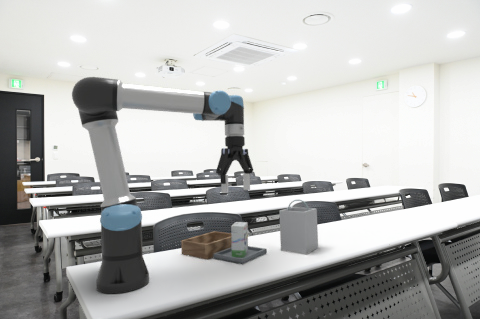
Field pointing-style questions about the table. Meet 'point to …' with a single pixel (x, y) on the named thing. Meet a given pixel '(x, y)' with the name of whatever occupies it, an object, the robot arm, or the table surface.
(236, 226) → the ink box
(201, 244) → the crate
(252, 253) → the tray
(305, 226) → the caddy
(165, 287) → the table surface
